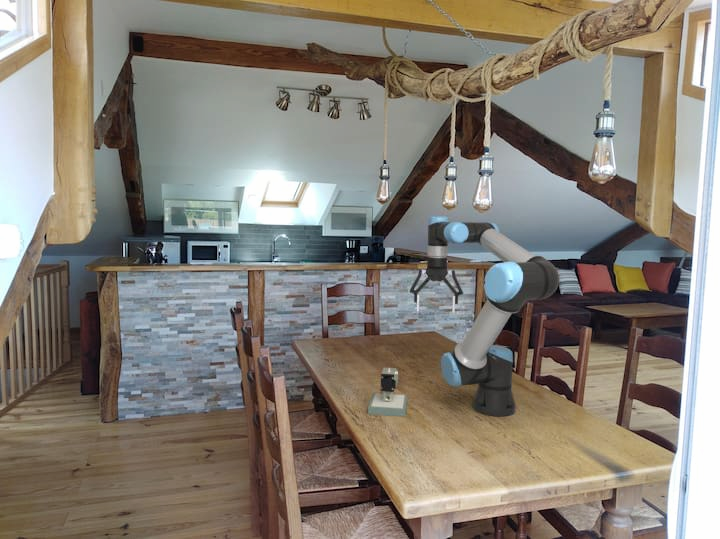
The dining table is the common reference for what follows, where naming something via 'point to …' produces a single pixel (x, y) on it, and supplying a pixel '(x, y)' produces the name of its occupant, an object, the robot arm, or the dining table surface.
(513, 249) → the robot arm
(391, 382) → the pneumatic valve
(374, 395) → the stand
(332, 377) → the dining table surface
